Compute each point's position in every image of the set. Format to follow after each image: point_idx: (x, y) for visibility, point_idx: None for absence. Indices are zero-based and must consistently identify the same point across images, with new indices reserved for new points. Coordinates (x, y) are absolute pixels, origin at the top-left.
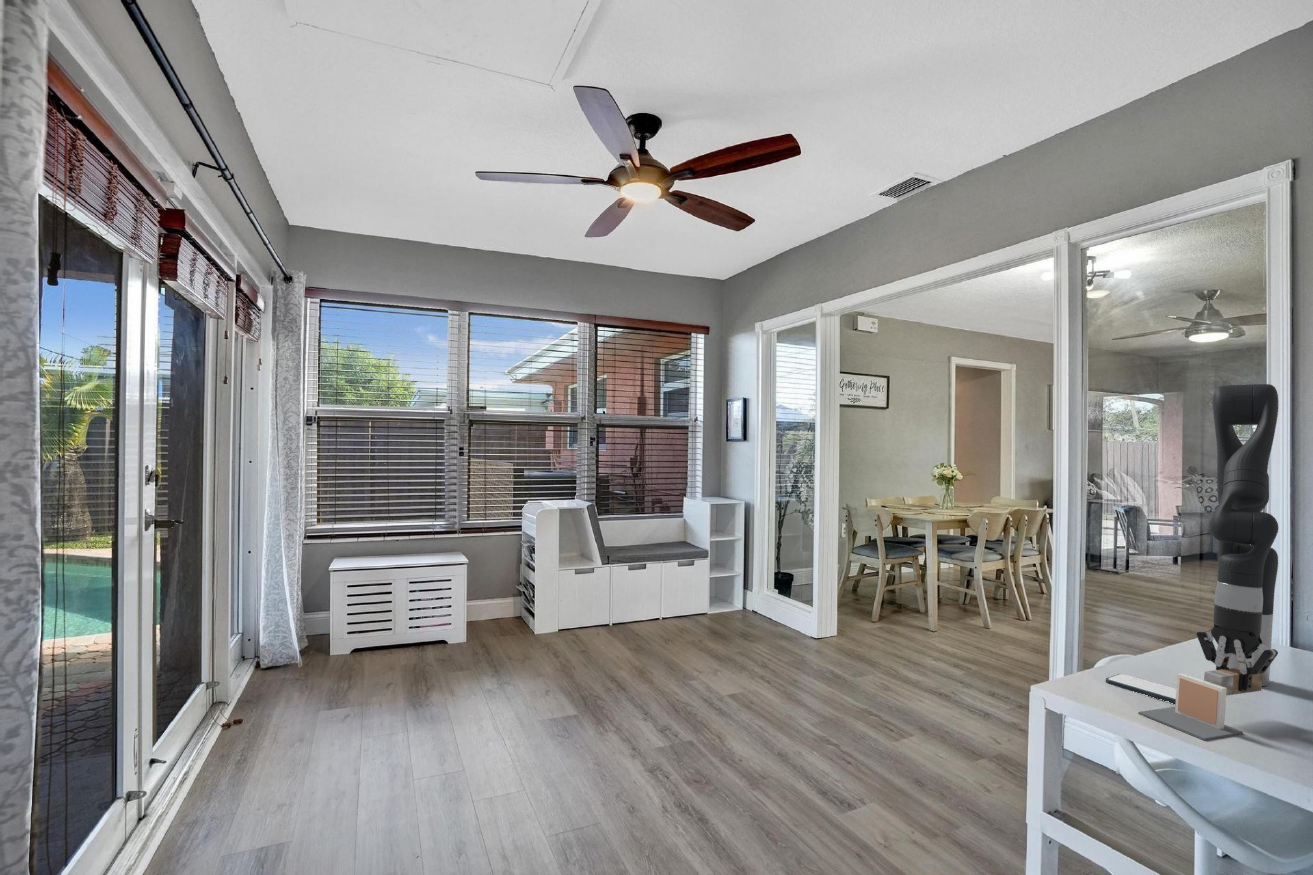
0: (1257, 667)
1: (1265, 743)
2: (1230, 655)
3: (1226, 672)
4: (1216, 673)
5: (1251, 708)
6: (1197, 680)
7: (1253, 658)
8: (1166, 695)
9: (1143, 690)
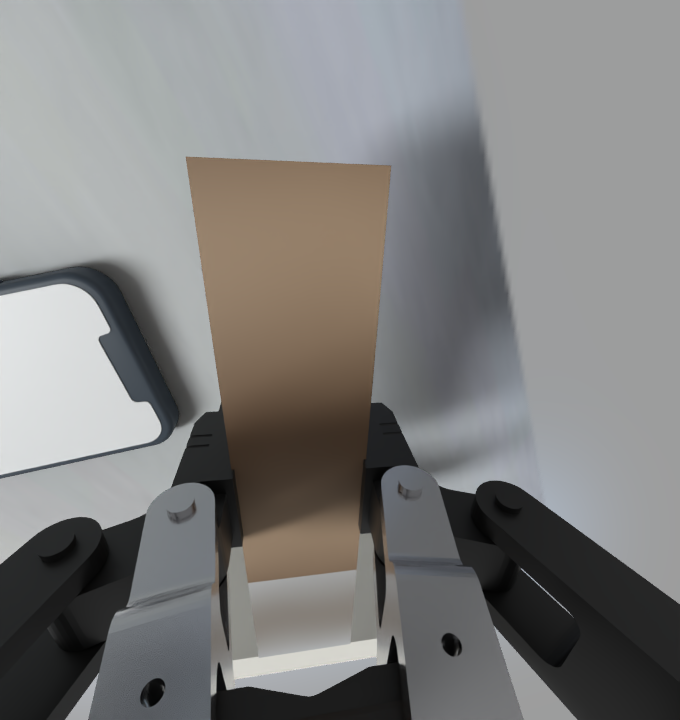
0: (526, 617)
1: (454, 452)
2: (214, 607)
3: (301, 562)
4: (301, 628)
5: (227, 42)
6: (291, 667)
7: (481, 597)
8: (90, 445)
9: (18, 474)
